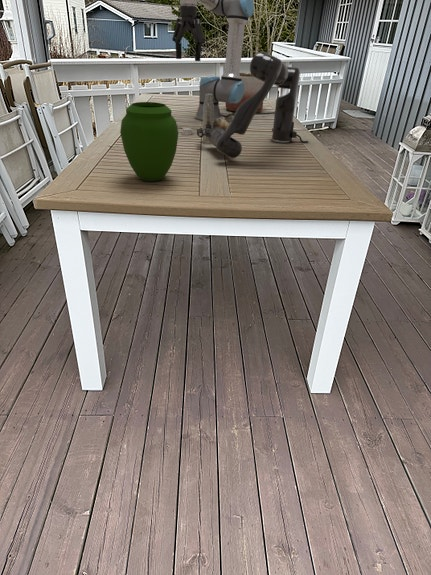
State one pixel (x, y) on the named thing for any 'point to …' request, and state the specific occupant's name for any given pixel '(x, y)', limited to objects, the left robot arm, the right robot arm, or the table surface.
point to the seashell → (221, 123)
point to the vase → (149, 139)
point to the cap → (187, 131)
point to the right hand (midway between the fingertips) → (209, 129)
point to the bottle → (207, 115)
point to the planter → (247, 91)
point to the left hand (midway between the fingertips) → (188, 60)
